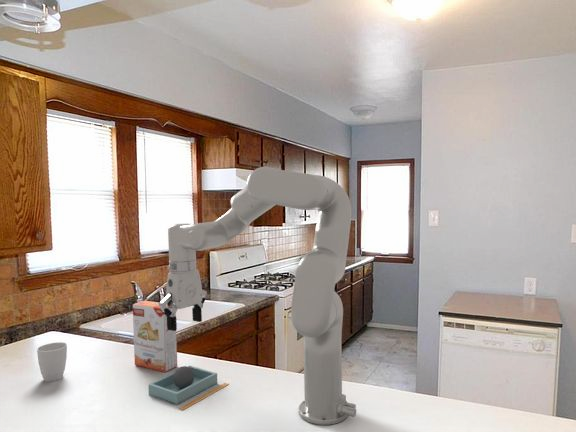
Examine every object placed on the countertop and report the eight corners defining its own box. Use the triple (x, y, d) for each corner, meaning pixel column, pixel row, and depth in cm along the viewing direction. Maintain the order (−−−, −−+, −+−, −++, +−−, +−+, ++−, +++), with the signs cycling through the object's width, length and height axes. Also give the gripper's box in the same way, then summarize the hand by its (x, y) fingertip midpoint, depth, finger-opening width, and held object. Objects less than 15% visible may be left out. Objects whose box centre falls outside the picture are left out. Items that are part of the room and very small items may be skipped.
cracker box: (133, 366, 139) (131, 303, 138) (147, 359, 144) (145, 299, 144) (164, 373, 133) (162, 308, 132) (178, 366, 138) (176, 303, 137)
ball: (199, 385, 122) (198, 365, 122) (183, 393, 117) (182, 372, 117) (184, 381, 125) (184, 361, 125) (168, 389, 120) (168, 368, 120)
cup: (73, 373, 134) (72, 342, 134) (57, 384, 126) (55, 351, 126) (49, 372, 135) (48, 342, 134) (32, 383, 127) (30, 351, 126)
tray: (228, 384, 124) (228, 374, 123) (182, 410, 109) (182, 399, 108) (192, 373, 132) (192, 364, 132) (145, 396, 117) (144, 385, 117)
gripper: (168, 272, 111) (170, 336, 111) (213, 263, 125) (215, 319, 126) (149, 270, 115) (152, 331, 115) (195, 261, 129) (197, 316, 130)
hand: (185, 325), depth 121 cm, fingers open, 9 cm apart
